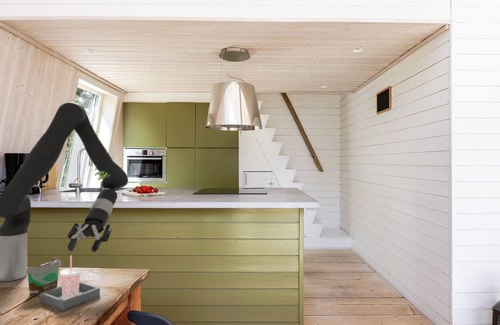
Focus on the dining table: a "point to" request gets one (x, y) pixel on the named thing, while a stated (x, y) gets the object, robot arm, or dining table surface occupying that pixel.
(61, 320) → the dining table surface
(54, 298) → the tray
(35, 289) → the food container
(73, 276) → the beverage cup
